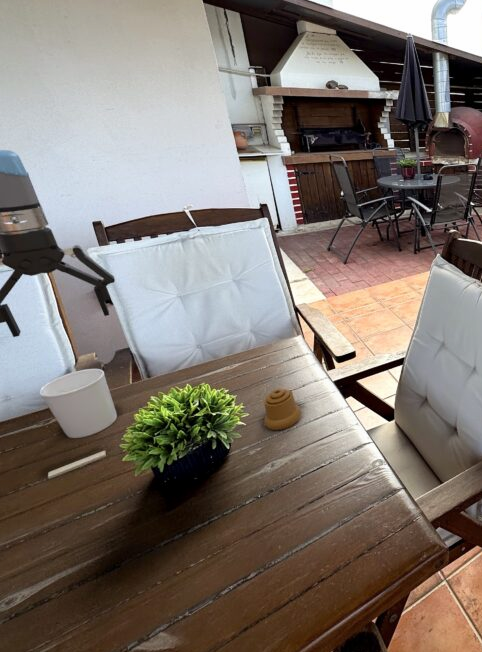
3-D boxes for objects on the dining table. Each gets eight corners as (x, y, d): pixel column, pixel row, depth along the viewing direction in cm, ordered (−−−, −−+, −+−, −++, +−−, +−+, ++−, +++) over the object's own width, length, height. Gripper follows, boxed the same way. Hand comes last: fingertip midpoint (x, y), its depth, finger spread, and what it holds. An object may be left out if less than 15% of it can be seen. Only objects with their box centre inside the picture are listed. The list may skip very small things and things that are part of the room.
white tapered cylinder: (60, 427, 90) (38, 382, 86) (118, 405, 97) (100, 363, 93) (63, 448, 85) (39, 402, 80) (125, 423, 92) (106, 379, 87)
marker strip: (49, 479, 77) (47, 477, 77) (49, 474, 78) (48, 472, 78) (106, 456, 82) (105, 454, 82) (105, 452, 84) (104, 450, 83)
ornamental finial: (273, 437, 88) (260, 421, 92) (307, 419, 93) (294, 405, 97) (265, 407, 85) (252, 393, 89) (301, 390, 90) (287, 378, 95)
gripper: (-89, 246, 70) (-30, 351, 77) (108, 222, 86) (140, 311, 94) (-77, 238, 75) (-23, 337, 82) (107, 217, 91) (137, 301, 99)
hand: (64, 323), depth 88 cm, fingers open, 13 cm apart
